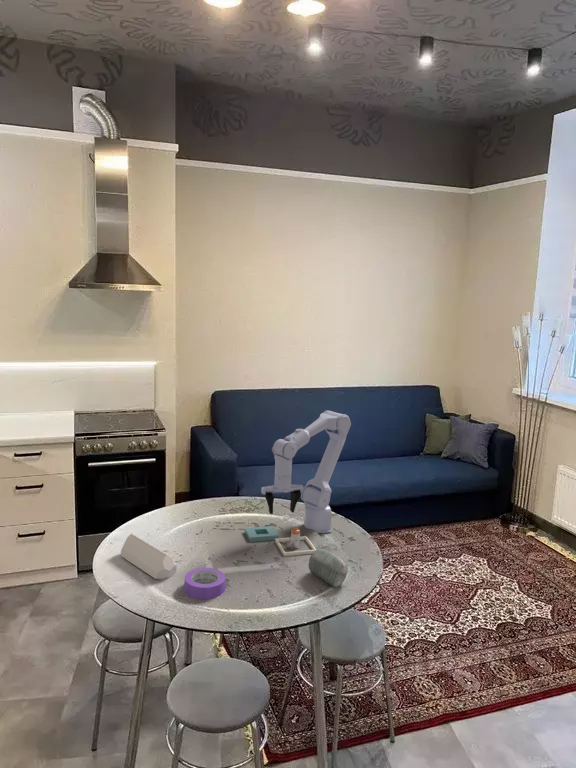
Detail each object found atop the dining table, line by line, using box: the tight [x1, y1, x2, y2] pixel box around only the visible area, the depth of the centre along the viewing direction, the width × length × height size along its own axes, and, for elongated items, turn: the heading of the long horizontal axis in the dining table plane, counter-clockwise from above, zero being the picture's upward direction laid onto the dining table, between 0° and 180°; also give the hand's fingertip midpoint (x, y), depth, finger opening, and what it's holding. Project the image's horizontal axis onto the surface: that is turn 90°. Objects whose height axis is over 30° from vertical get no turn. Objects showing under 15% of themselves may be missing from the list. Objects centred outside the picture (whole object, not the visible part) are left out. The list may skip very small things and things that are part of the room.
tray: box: [274, 535, 318, 557], centre depth 195 cm, size 11×11×2 cm
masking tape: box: [183, 567, 226, 600], centre depth 169 cm, size 12×12×4 cm
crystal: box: [120, 533, 178, 580], centre depth 181 cm, size 7×7×24 cm
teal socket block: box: [244, 525, 280, 543], centre depth 203 cm, size 10×8×3 cm
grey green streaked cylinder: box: [308, 548, 348, 588], centre depth 177 cm, size 14×10×10 cm
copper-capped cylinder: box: [289, 527, 301, 550], centre depth 195 cm, size 3×3×7 cm
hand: (281, 512), depth 202 cm, fingers open, 7 cm apart
